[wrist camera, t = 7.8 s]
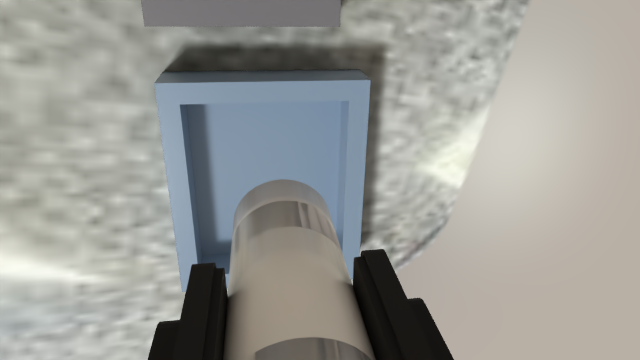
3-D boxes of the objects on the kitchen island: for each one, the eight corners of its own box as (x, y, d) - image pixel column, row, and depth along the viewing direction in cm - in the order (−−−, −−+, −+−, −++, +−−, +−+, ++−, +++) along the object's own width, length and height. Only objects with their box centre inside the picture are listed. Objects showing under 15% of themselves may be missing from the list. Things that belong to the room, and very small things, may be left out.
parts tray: (163, 71, 28) (154, 83, 25) (359, 69, 29) (370, 79, 27) (187, 265, 34) (182, 291, 31) (349, 254, 35) (358, 278, 33)
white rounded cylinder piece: (229, 182, 14) (189, 533, 5) (330, 176, 15) (449, 495, 6) (237, 267, 16) (216, 663, 7) (330, 259, 16) (427, 626, 7)
